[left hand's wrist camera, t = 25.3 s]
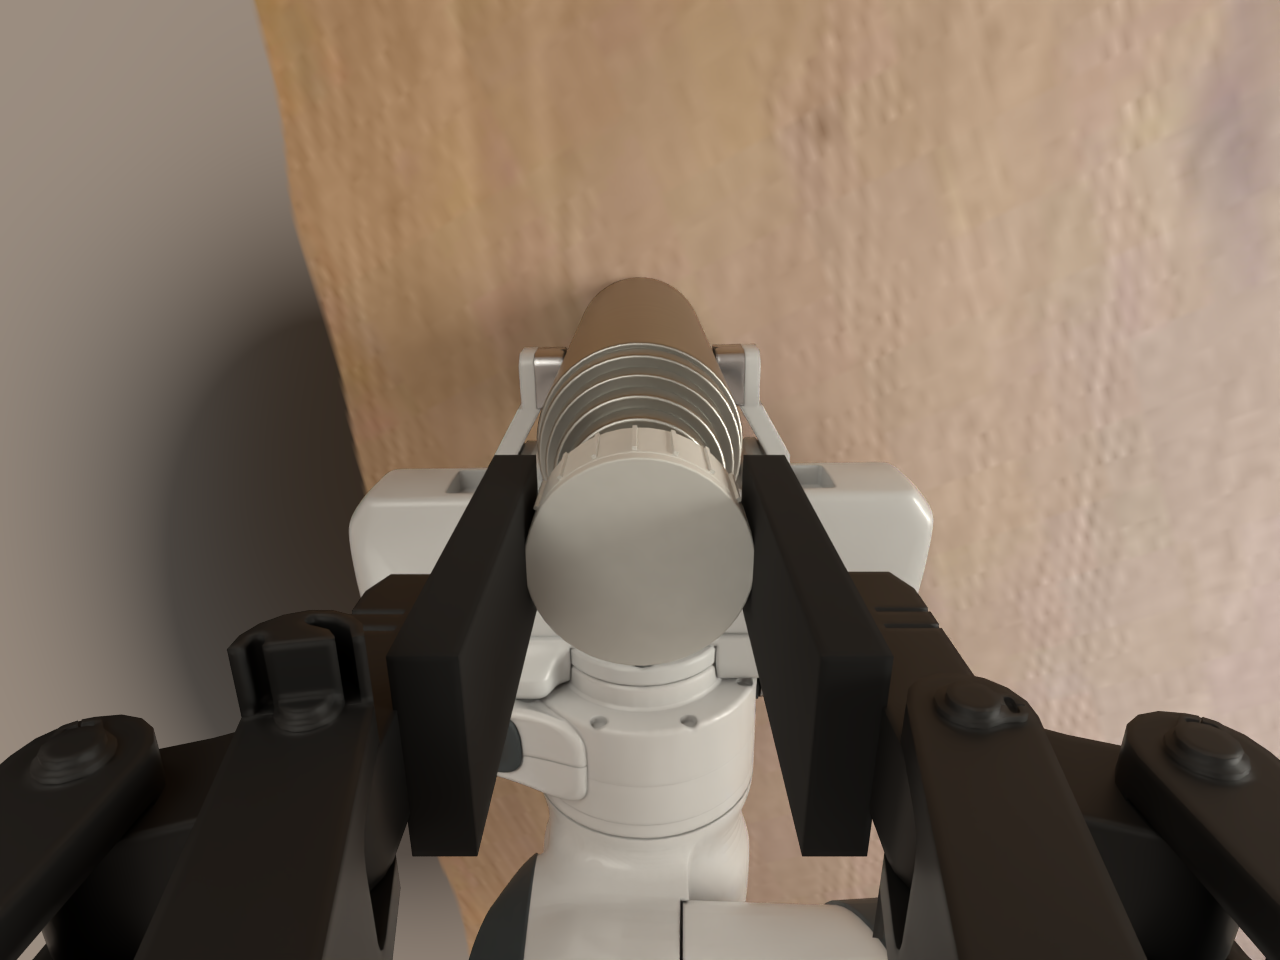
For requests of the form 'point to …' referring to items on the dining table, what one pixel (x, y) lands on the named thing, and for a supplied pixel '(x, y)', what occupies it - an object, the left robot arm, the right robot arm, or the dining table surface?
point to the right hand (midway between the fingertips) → (638, 348)
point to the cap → (639, 548)
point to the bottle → (639, 377)
